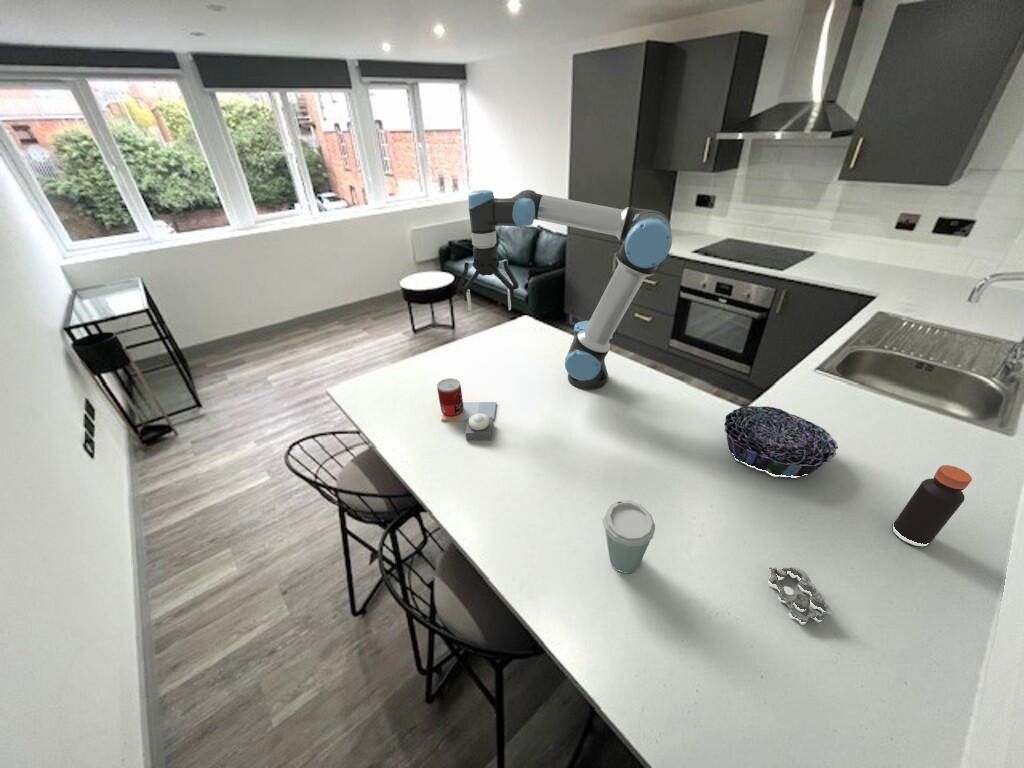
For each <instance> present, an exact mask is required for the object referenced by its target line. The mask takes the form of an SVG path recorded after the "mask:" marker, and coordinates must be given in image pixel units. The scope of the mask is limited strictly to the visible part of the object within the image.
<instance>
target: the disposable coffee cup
mask: <svg viewBox="0 0 1024 768" xmlns="http://www.w3.org/2000/svg"><path fill="white" fill-rule="evenodd" d="M602 524H603V528H604V531H605V537H606V538H605V539H606V544H607V552H608V558H609V561H610V564H611V566H612V567H613V566H614V567H615V568H616V569H617V570H616V569H615V568H614V567H613V568H614V569H615V570H616V571H618V570H620V571H622V572H621V573H623V572H632V573H633V572H634V571H637V569H639V567H640V565H641V563H642V560H643V558H644V555H645V554H646V552H647V551H646V550H647V549H648V547H649V545H650V542H651V540H653V538H654V535H655V530H656V524H655V521H654V519H653V516H652V514H651V513H650V511H649V510H647V509H646V508H645V507H644V506H643V504H641V503H638V502H635V501H633V500H630V499H625V500H624V499H623V500H618V501H615V502H614V503H612V504H610V505H609V506H608V508H606V511H605V513H604V515H603V518H602ZM620 571H619V572H620Z"/></svg>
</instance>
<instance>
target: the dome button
mask: <svg viewBox="0 0 1024 768" xmlns="http://www.w3.org/2000/svg"><path fill="white" fill-rule="evenodd" d="M488 425H489V417H488V416H487V415H486V414H483V413H477V414H474V415H472V416H471V417H470V418H469V426H470V427H471V428H472V429H474V430H482V429H485V428H486V427H488Z"/></svg>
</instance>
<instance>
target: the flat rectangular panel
mask: <svg viewBox="0 0 1024 768" xmlns="http://www.w3.org/2000/svg"><path fill="white" fill-rule="evenodd" d="M463 407H464V408H463V412H462V413H461V414H459V415H457V416H453V417H450V416H446V415H444V414H443V413H442V416H441V419H440V420H441V422H468V419H469V418H470V417H471V416H472V415H474V414H477V413H483V414H486V415H487V416H488V417H493V422H494V421H495V416H496V411H497V410H496V409H497V401H463Z"/></svg>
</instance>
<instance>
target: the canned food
mask: <svg viewBox="0 0 1024 768" xmlns="http://www.w3.org/2000/svg"><path fill="white" fill-rule="evenodd" d="M436 388H437V389H436V390H437V395H438V400H439V405H440V411H441V413H442V415H443V414H444V415H446V416H450V417H453V416H457V415H459V414H461V413H462V412H463V408H464V407H463V402H464V400H463V393H462V387H461V382H460V380H459V379H456V378H445V379H441V380H440V381H438V382H437V385H436Z"/></svg>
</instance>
